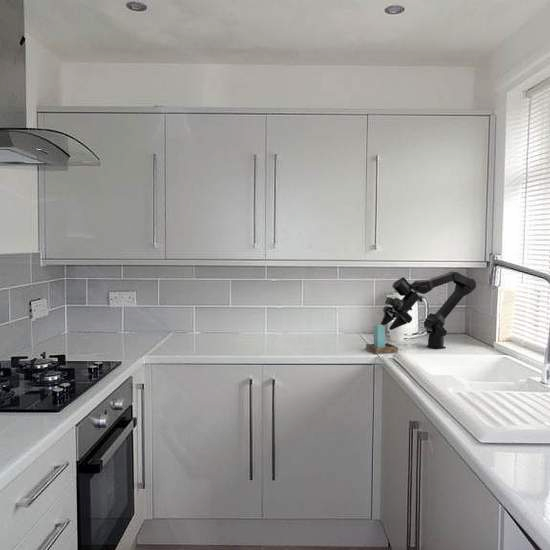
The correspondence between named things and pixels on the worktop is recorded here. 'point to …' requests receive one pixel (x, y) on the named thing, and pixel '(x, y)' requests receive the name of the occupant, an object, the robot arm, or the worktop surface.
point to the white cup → (396, 333)
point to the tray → (382, 349)
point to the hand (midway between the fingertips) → (385, 327)
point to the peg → (379, 336)
